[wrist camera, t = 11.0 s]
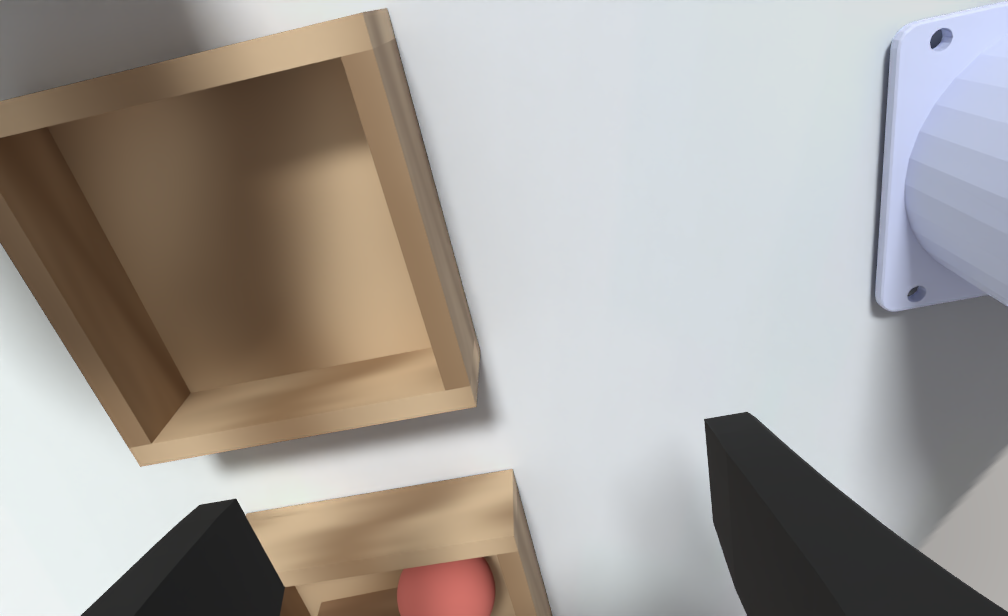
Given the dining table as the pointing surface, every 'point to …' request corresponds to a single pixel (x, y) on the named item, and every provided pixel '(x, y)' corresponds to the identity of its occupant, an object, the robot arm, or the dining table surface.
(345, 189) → the box empty
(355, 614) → the walnut block
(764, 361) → the dining table surface
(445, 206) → the dining table surface
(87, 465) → the dining table surface
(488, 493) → the box with ball
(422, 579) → the red ball
